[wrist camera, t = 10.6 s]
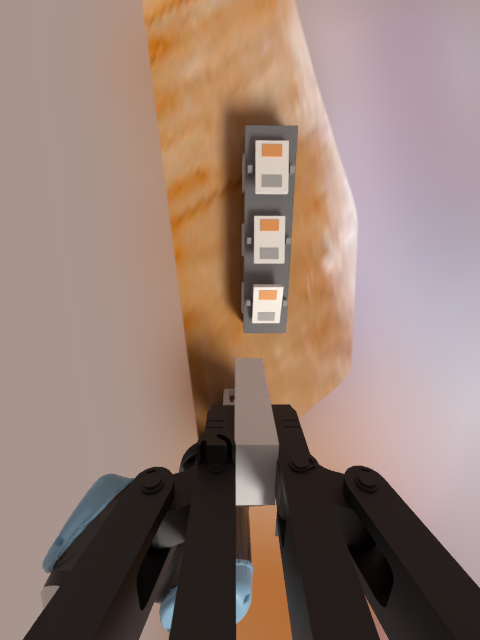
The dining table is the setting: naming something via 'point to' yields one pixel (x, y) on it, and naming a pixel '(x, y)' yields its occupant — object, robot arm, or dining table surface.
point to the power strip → (265, 207)
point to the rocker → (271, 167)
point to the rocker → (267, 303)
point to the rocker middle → (269, 239)
